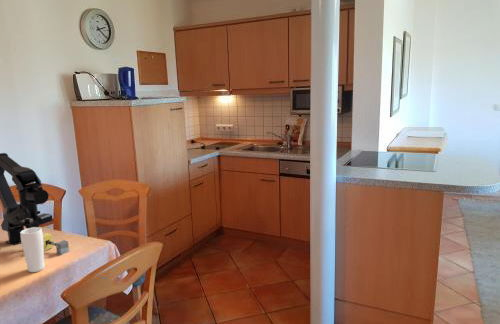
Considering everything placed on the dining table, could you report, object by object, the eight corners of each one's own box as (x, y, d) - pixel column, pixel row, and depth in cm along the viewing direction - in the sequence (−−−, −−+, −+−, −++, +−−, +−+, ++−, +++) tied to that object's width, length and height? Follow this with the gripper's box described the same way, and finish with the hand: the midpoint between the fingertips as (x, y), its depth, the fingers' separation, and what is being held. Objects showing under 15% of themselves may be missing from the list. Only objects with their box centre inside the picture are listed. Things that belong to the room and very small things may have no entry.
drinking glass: (37, 274, 128) (31, 234, 125) (21, 273, 129) (15, 233, 127) (51, 265, 135) (46, 227, 132) (35, 264, 136) (30, 226, 133)
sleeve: (36, 249, 148) (34, 236, 147) (45, 245, 152) (43, 232, 151) (43, 251, 147) (42, 238, 146) (53, 246, 151) (51, 234, 150)
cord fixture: (27, 249, 149) (25, 239, 149) (39, 244, 154) (38, 234, 154) (59, 255, 143) (58, 245, 142) (71, 250, 148) (69, 240, 147)
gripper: (-8, 204, 144) (-2, 241, 147) (25, 208, 137) (31, 247, 140) (19, 196, 154) (24, 231, 157) (51, 200, 147) (55, 236, 150)
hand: (33, 236), depth 151 cm, fingers closed
